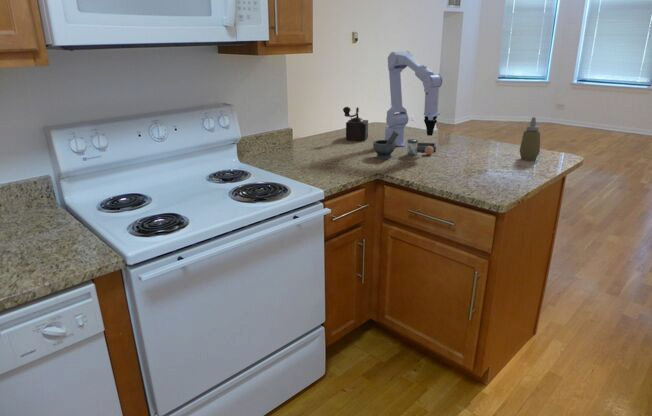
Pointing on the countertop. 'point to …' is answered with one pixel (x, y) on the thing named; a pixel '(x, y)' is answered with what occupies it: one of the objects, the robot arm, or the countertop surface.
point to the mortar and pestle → (385, 146)
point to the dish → (423, 145)
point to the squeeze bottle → (530, 142)
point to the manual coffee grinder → (355, 127)
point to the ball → (429, 150)
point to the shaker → (412, 147)
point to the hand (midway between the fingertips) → (429, 133)
